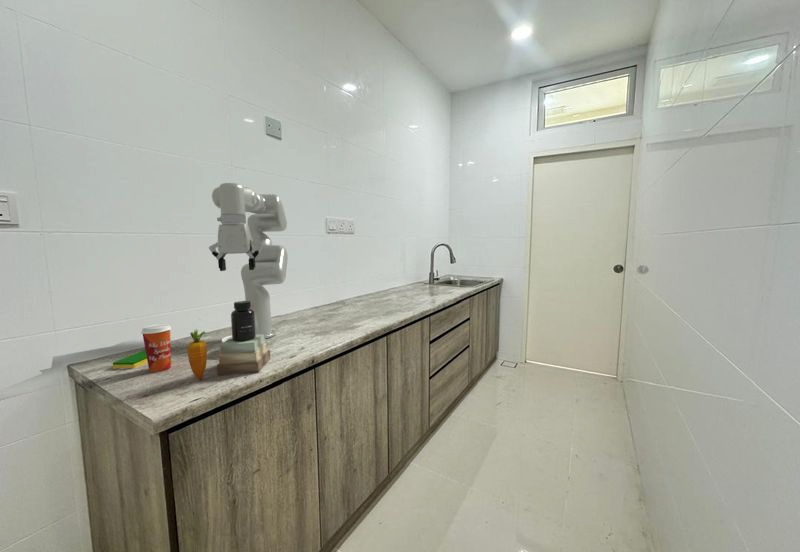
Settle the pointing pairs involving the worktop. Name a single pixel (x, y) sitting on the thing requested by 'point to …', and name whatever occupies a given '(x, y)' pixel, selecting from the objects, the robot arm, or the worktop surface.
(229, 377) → the worktop surface
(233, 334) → the supplement bottle
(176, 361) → the worktop surface
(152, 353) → the paper cup
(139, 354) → the dish sponge
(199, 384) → the worktop surface
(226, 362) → the layered stepped block
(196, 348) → the carrot
